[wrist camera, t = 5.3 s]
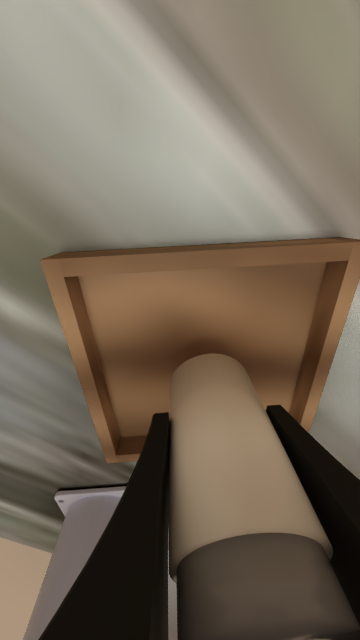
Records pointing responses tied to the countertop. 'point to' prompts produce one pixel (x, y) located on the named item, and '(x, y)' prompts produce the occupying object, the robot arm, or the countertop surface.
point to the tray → (201, 323)
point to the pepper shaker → (243, 519)
